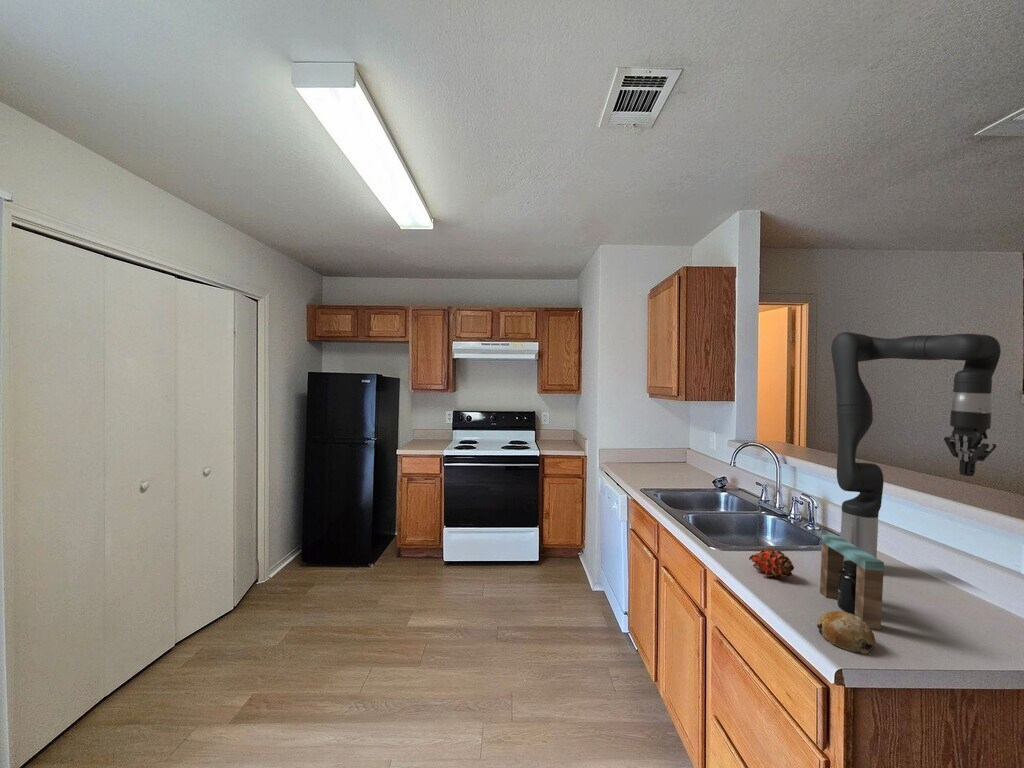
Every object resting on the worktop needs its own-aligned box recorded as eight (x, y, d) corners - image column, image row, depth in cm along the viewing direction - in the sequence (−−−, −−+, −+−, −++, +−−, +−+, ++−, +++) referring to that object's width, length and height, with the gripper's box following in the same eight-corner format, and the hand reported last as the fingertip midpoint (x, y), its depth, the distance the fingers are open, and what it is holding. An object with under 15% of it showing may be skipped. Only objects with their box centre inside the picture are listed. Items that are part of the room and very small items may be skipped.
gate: (819, 592, 124) (822, 534, 124) (835, 593, 124) (837, 535, 123) (862, 628, 106) (865, 560, 106) (880, 629, 106) (883, 562, 106)
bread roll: (845, 670, 96) (865, 645, 93) (803, 627, 104) (819, 603, 101) (872, 659, 100) (892, 635, 97) (829, 619, 108) (846, 596, 105)
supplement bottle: (830, 603, 118) (832, 558, 118) (854, 603, 119) (855, 557, 118) (852, 617, 111) (854, 569, 111) (877, 616, 112) (879, 569, 112)
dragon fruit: (796, 589, 129) (751, 581, 137) (800, 565, 134) (756, 558, 143) (788, 569, 126) (743, 562, 134) (792, 545, 131) (748, 540, 140)
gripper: (934, 407, 125) (930, 469, 126) (978, 411, 112) (974, 480, 112) (963, 408, 124) (960, 470, 125) (1011, 412, 111) (1007, 482, 112)
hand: (966, 475), depth 119 cm, fingers closed
